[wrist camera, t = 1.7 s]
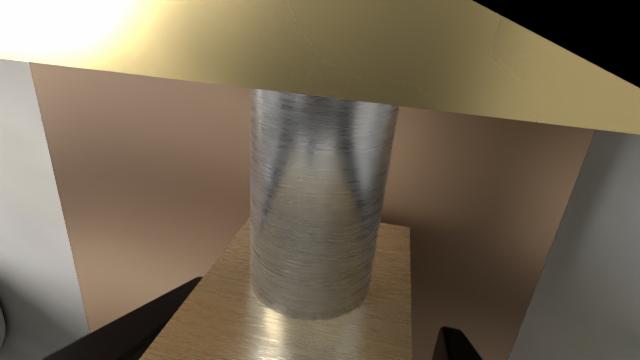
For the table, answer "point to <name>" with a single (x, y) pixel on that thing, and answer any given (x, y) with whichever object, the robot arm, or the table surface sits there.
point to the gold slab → (337, 53)
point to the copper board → (399, 201)
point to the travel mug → (2, 327)
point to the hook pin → (306, 245)
